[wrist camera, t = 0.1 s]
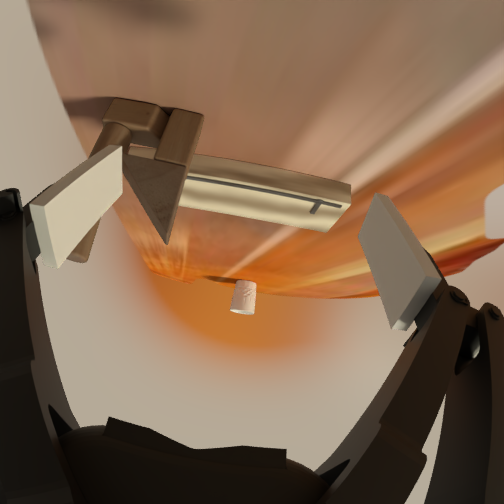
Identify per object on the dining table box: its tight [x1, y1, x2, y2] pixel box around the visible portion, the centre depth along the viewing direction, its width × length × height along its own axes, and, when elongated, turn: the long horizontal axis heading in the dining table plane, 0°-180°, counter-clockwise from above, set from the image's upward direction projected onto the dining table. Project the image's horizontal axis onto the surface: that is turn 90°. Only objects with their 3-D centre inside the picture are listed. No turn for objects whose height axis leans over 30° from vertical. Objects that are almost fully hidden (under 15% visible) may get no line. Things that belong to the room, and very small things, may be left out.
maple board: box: [128, 147, 351, 233], centre depth 42 cm, size 10×30×3 cm, turn 84°
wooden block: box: [66, 98, 204, 263], centre depth 27 cm, size 4×11×18 cm, turn 74°
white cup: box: [230, 280, 256, 314], centre depth 99 cm, size 8×8×10 cm
